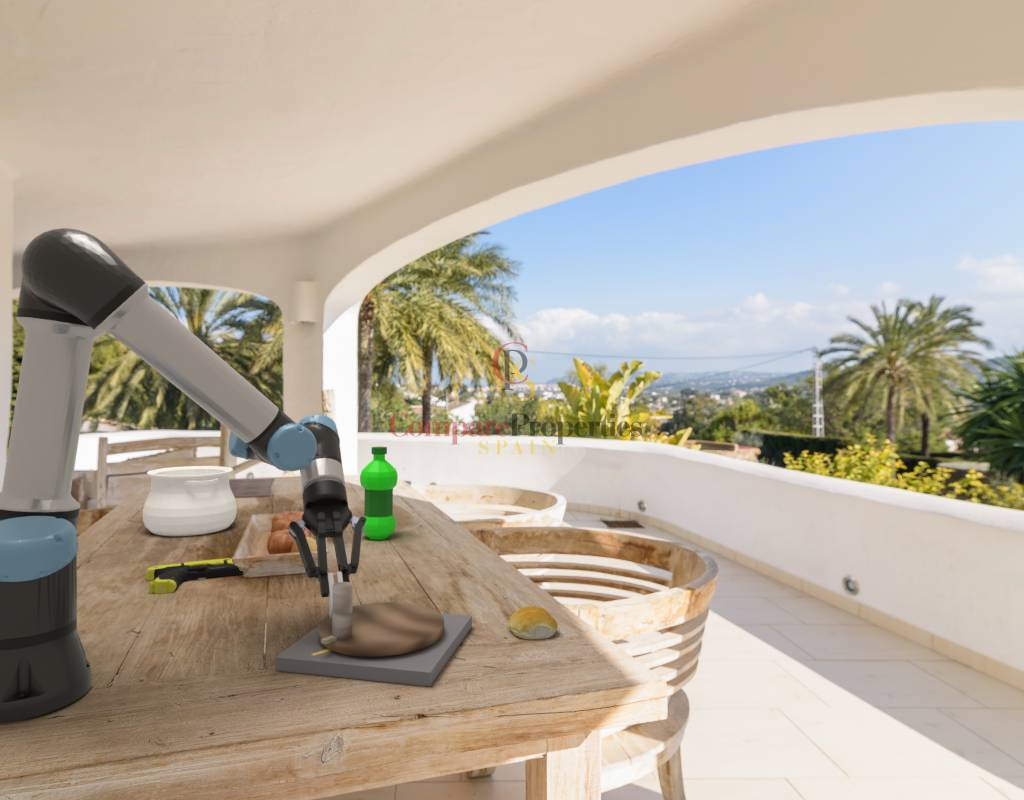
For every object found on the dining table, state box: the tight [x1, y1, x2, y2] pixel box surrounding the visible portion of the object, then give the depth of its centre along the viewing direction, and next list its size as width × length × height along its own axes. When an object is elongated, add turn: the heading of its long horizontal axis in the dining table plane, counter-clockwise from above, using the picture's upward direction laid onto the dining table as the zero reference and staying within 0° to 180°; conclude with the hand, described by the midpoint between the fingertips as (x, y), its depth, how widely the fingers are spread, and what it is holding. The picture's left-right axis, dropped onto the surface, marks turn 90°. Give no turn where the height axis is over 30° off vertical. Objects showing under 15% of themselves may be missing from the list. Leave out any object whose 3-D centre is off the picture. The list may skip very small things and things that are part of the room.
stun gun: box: [145, 557, 244, 595], centre depth 144 cm, size 3×19×15 cm
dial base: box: [275, 612, 473, 687], centre depth 109 cm, size 24×24×2 cm
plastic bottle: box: [359, 446, 398, 541], centre depth 186 cm, size 10×10×25 cm
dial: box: [318, 582, 444, 657], centre depth 109 cm, size 22×20×10 cm
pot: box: [142, 465, 238, 537], centre depth 193 cm, size 26×24×17 cm
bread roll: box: [508, 605, 559, 641], centre depth 118 cm, size 8×9×4 cm
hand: (338, 613), depth 105 cm, fingers closed
